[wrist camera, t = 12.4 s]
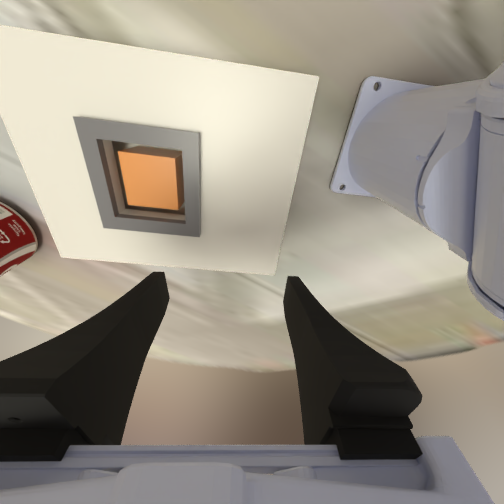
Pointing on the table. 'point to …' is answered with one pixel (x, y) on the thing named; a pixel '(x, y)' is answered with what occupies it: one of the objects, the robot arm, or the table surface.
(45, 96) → the box
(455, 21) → the table surface
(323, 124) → the table surface
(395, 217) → the table surface
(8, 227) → the soda can
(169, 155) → the button
